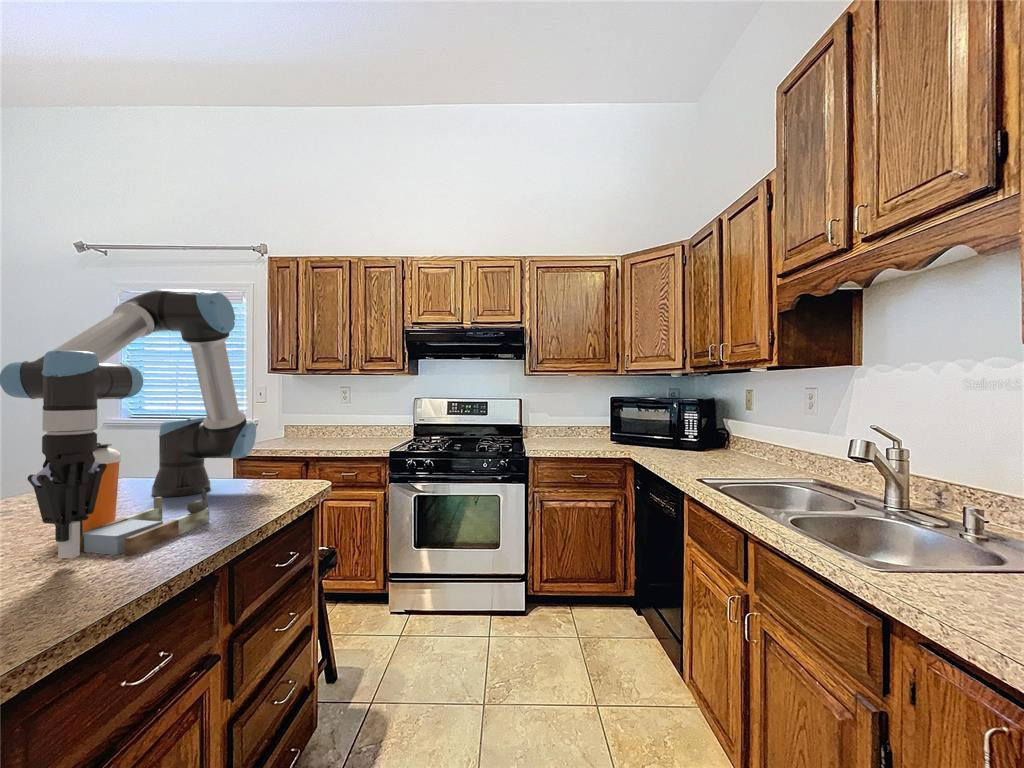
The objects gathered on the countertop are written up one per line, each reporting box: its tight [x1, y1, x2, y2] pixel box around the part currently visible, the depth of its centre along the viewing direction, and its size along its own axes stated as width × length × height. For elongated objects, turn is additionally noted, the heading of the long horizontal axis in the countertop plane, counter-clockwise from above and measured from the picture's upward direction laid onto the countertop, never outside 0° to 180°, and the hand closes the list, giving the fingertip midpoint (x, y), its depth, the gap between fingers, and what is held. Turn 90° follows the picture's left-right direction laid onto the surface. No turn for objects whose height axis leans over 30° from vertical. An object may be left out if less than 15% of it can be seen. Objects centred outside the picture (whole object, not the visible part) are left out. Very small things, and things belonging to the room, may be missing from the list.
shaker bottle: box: [82, 442, 122, 532], centre depth 109 cm, size 9×9×20 cm
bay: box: [80, 486, 211, 557], centre depth 104 cm, size 23×14×9 cm, turn 178°
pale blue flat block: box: [83, 519, 164, 555], centre depth 99 cm, size 10×8×4 cm
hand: (68, 556), depth 87 cm, fingers closed
